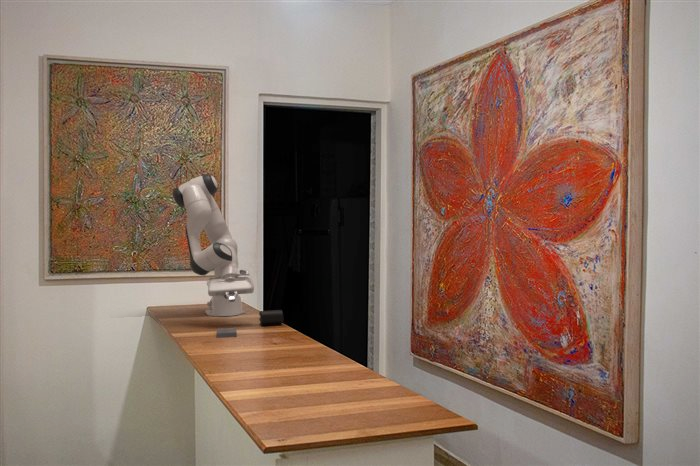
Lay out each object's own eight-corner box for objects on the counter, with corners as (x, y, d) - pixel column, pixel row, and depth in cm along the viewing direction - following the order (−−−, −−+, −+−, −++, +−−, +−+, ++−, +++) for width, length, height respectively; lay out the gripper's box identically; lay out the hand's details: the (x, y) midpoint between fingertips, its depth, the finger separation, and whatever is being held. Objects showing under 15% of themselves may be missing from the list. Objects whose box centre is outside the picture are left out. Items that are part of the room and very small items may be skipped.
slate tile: (217, 328, 313) (216, 333, 301) (236, 327, 314) (236, 332, 303) (217, 333, 313) (217, 338, 301) (236, 333, 315) (236, 337, 303)
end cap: (261, 327, 327) (261, 312, 327) (258, 324, 334) (258, 310, 333) (283, 325, 330) (283, 310, 330) (280, 323, 337) (279, 308, 337)
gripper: (206, 274, 328) (207, 298, 319) (252, 270, 332) (255, 294, 323) (206, 282, 333) (208, 307, 324) (252, 279, 337) (254, 303, 328)
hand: (232, 301), depth 323 cm, fingers closed
